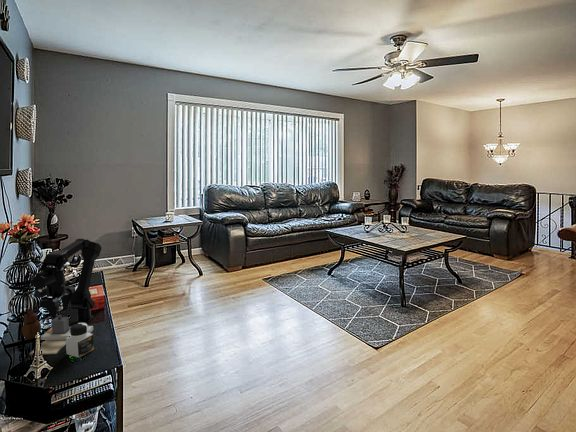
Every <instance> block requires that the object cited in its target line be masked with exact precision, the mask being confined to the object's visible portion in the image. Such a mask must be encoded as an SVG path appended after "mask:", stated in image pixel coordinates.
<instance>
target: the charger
mask: <svg viewBox="0 0 576 432" xmlns="http://www.w3.org/2000/svg"><path fill="white" fill-rule="evenodd" d="M69 327H70V326H69V317H68V316H62V315H61V314H59V315H58V314H57V316H56V318H55V319H52V320H51V328H52V334H66V333H67V332H68V331H69Z"/></svg>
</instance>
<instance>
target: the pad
mask: <svg viewBox="0 0 576 432" xmlns="http://www.w3.org/2000/svg"><path fill="white" fill-rule="evenodd" d="M40 344H41V351H42V355H57V354H58V353H59V352H60V351H61V350H62V348H63V347H65V346H66V340H54V341H41V343H40ZM33 353H34V349H33V350H32V351H30V352H29V356H34V355H33Z"/></svg>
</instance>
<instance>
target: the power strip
mask: <svg viewBox="0 0 576 432" xmlns="http://www.w3.org/2000/svg"><path fill="white" fill-rule="evenodd" d="M70 327H71V326H69V331H68V332H67V333H66V334H52V327H50V328H49V329H48V330H47V331H45V332H44V334H43V333H42V335H41V336H40V341H41V340H45V341H64V340H66V338H67V337H69V336H70V335H71V333H70ZM87 329H88V333H91V334H92V332H93V331H94V326H93V325H87Z"/></svg>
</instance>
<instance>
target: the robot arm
mask: <svg viewBox="0 0 576 432" xmlns="http://www.w3.org/2000/svg"><path fill="white" fill-rule="evenodd" d="M80 251H81V257H82V260H83V261H82V265H81V270H80V274H79V280H78V284H77V288H76V287H75V286H73V285H67V284H68V281H65V280H66V279H65V270H67V269H68V266H66V264H67V263H68V262H69V258H71V257H72V256H74V255H76V254H77V253H78V252H80ZM101 251H102V245H100V243H99V242H98V243H97V242H95V241H91V240H89V239H87V238H77V239H75V240H74V241H73V242H71V243H70V244H68V245H67V246H64V247H63V248H62V249H60V250H56V251H52V252H49V253H47V254H46V255H45V257H44V258H43V261H42V263H41V266H40V268H39V272H36V273H35V276H34V277H33V278H32V281H31V283H32V286H33V287H34V288H35V290H34V292H33V297H35V298H37V299H41V298H42V297H45V298H43V299H41V300H40V301H39V302H38V306H39V308H42V309H45V310H47V311H48V314H49V315H50V316H51V319H52V320H53V319H55V318H56V317H57V316H58V311H59V307H60V300H61V305H62V306H61V307H62V309H63V311H66V310H67V309H68V307H69V305H70V307H71V309H72V310H76V313H77V319H75V320H74V323H88V322H90V321H91V320H92V319H93V318H95V316H94V315H92V314H91V313H92V312H91V311H92V310H93V309H94V307H95V306H96V305H95V304H96V302H95V301H94V300H93V299H92V293H91V292H90V285H91V284H90V283H91V281H92V275H93V271H94V265H95V261H96V260H97V259H98V258H99V257H100V255H101Z"/></svg>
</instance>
